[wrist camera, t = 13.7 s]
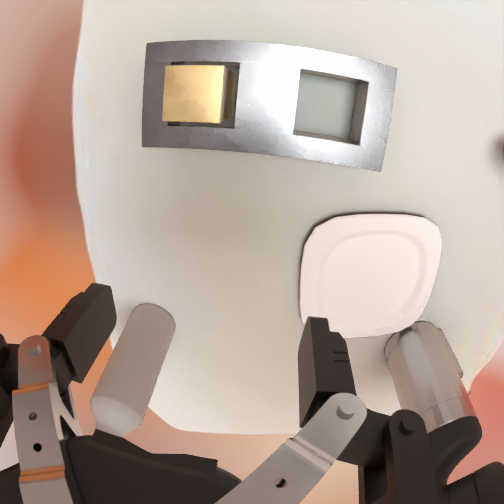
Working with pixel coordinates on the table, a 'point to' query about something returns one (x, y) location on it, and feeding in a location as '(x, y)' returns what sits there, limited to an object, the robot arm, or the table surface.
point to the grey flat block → (272, 101)
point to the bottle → (132, 371)
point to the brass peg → (198, 93)
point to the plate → (369, 272)
